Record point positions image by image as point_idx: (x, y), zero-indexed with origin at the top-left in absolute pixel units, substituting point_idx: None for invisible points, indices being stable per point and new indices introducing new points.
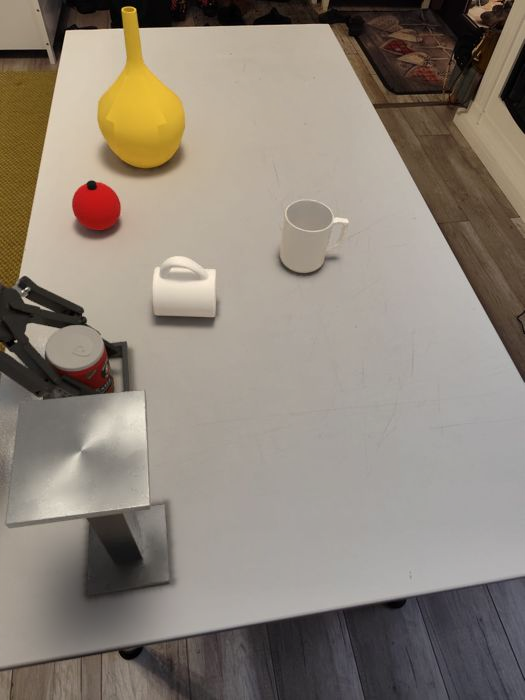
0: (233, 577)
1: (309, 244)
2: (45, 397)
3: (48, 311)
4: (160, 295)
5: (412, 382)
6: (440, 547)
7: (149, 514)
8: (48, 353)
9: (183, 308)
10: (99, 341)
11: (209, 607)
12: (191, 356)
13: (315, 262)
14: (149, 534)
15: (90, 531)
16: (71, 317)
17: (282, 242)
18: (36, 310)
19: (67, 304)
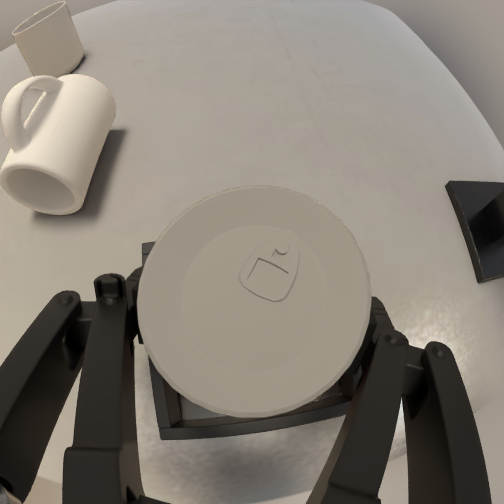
0: (475, 133)
1: (67, 21)
2: (309, 417)
3: (81, 408)
4: (58, 156)
5: (245, 3)
6: (391, 24)
7: (465, 199)
8: (300, 396)
9: (93, 134)
10: (230, 199)
11: (500, 156)
12: (180, 150)
13: (79, 40)
14: (482, 199)
15: (498, 273)
16: (98, 323)
17: (41, 58)
18: (93, 471)
19: (42, 333)
